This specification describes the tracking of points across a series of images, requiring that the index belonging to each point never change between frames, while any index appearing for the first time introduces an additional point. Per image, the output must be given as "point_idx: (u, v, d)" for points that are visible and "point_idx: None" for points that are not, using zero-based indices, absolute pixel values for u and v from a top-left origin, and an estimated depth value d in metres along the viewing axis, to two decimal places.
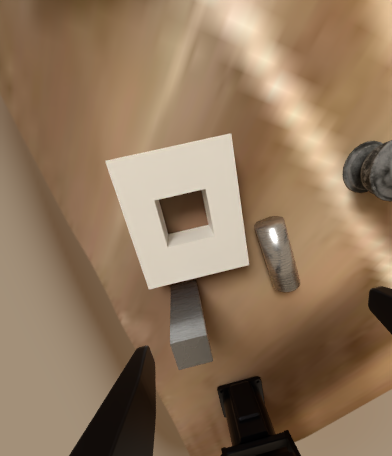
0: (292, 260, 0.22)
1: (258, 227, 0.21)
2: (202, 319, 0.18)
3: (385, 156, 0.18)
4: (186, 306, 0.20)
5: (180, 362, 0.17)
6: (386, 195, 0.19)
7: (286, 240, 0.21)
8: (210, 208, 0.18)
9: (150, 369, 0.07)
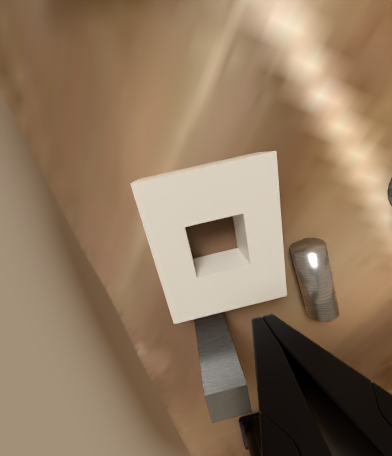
0: (333, 287, 0.19)
1: (296, 251, 0.19)
2: (237, 362, 0.16)
3: None
4: (215, 342, 0.18)
5: (215, 414, 0.15)
6: None
7: (328, 266, 0.19)
8: (247, 235, 0.16)
9: None
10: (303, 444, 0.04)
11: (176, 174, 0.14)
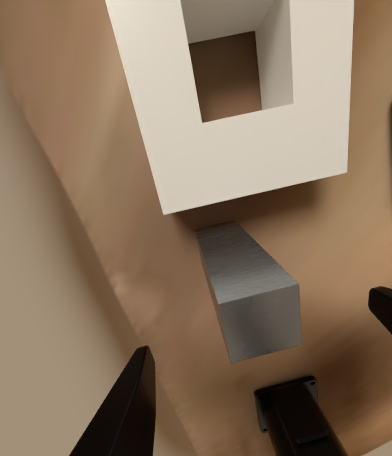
0: None
1: None
2: (273, 262, 0.09)
3: None
4: (231, 248, 0.11)
5: (236, 346, 0.08)
6: None
7: None
8: (293, 33, 0.09)
9: (150, 369, 0.07)
10: None
11: None
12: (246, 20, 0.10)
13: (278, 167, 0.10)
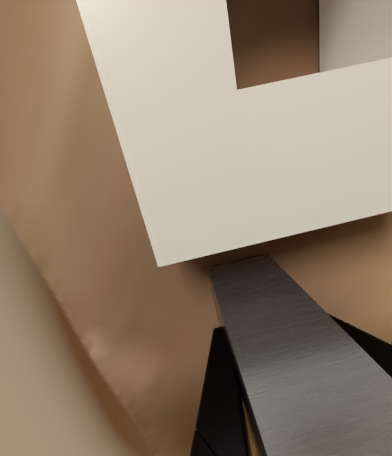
0: None
1: None
2: None
3: None
4: (281, 323, 0.06)
5: None
6: None
7: None
8: None
9: None
10: None
11: None
12: None
13: (374, 179, 0.06)
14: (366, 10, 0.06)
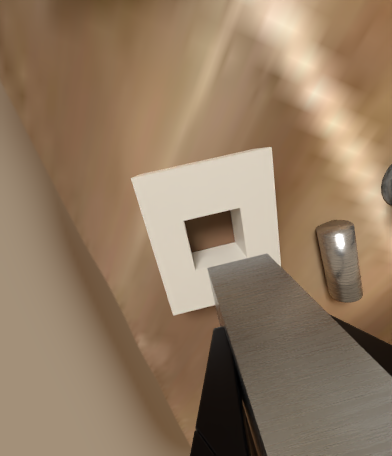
0: None
1: (349, 226, 0.19)
2: None
3: None
4: (281, 323, 0.06)
5: None
6: None
7: None
8: (244, 228, 0.16)
9: None
10: None
11: (175, 169, 0.14)
12: None
13: None
14: (238, 234, 0.18)
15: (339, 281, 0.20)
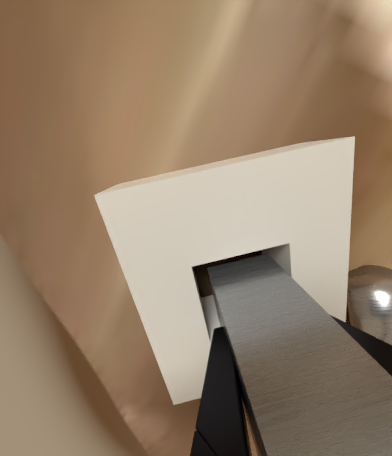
0: None
1: (359, 289, 0.13)
2: None
3: None
4: (281, 323, 0.06)
5: None
6: None
7: None
8: (293, 276, 0.10)
9: None
10: None
11: (177, 178, 0.08)
12: None
13: None
14: None
15: None
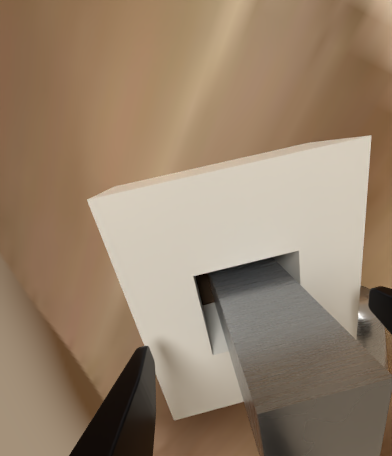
0: None
1: None
2: (330, 319, 0.06)
3: None
4: (257, 285, 0.08)
5: None
6: None
7: None
8: (302, 285, 0.09)
9: (150, 369, 0.07)
10: None
11: (178, 181, 0.07)
12: None
13: None
14: None
15: None
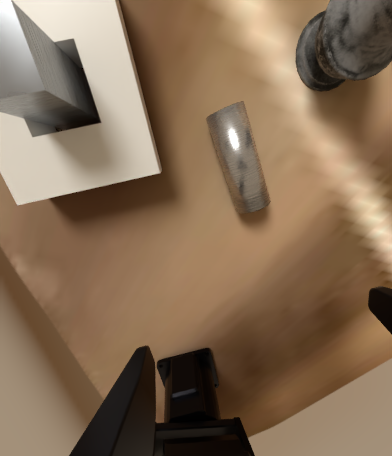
0: None
1: (231, 105, 0.15)
2: None
3: None
4: None
5: None
6: (348, 67, 0.14)
7: None
8: (87, 74, 0.12)
9: (150, 369, 0.07)
10: None
11: None
12: (76, 60, 0.14)
13: (102, 169, 0.14)
14: None
15: (229, 183, 0.17)
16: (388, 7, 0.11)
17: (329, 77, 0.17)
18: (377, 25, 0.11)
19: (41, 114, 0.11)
